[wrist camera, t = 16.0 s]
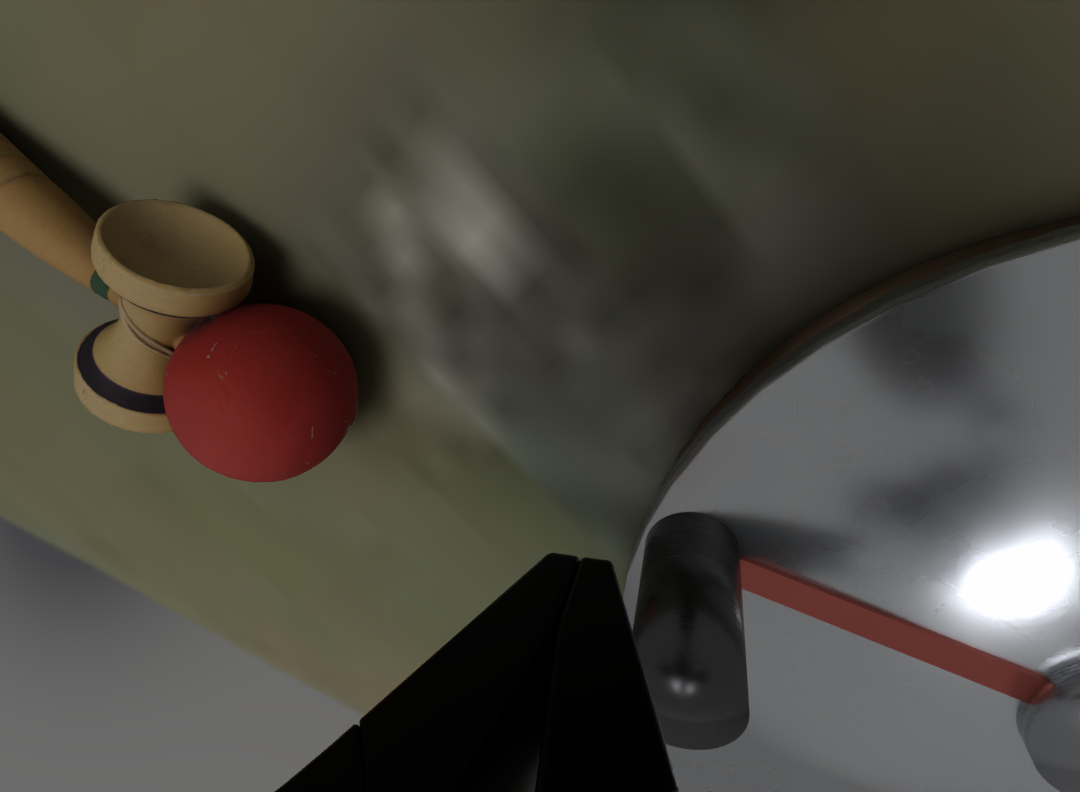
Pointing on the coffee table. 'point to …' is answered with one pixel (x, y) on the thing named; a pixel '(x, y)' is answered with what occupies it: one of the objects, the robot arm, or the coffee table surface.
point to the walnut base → (872, 295)
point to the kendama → (187, 331)
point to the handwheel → (882, 550)
